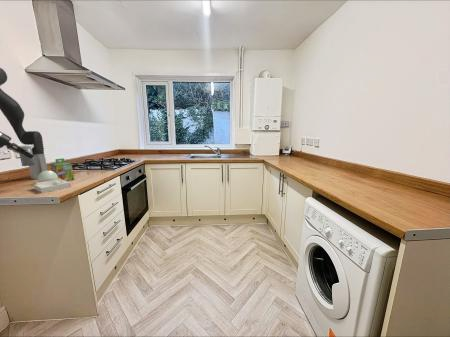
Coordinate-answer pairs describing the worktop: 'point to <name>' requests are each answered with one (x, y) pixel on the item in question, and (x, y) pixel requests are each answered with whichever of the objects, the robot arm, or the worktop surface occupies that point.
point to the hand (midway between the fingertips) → (31, 156)
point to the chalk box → (63, 170)
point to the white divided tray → (50, 182)
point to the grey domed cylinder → (24, 159)
